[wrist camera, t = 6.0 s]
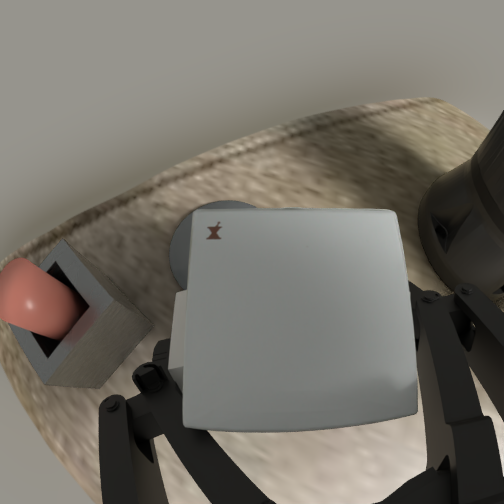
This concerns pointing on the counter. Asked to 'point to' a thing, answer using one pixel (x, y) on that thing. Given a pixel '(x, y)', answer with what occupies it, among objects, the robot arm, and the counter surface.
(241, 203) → the coaster
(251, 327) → the supplement box
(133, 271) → the counter surface
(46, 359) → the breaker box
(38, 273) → the button
